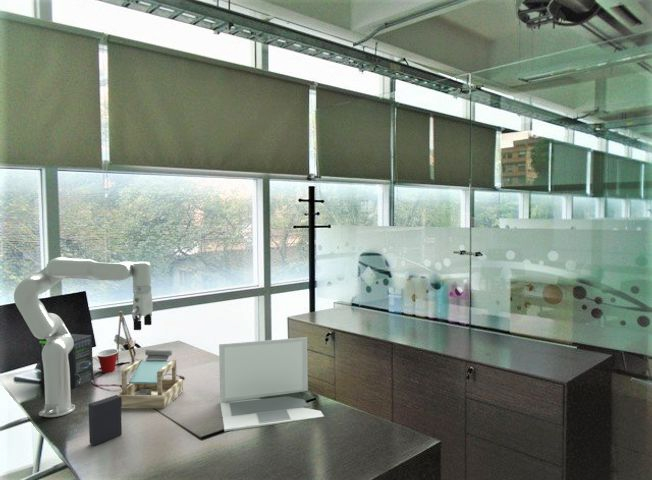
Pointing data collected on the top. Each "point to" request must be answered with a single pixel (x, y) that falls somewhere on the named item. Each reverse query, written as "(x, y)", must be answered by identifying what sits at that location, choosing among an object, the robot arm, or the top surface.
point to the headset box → (76, 360)
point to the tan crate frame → (159, 392)
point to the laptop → (263, 383)
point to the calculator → (105, 419)
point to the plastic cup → (107, 360)
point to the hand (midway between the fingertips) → (142, 327)
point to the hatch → (150, 367)
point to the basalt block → (143, 392)
